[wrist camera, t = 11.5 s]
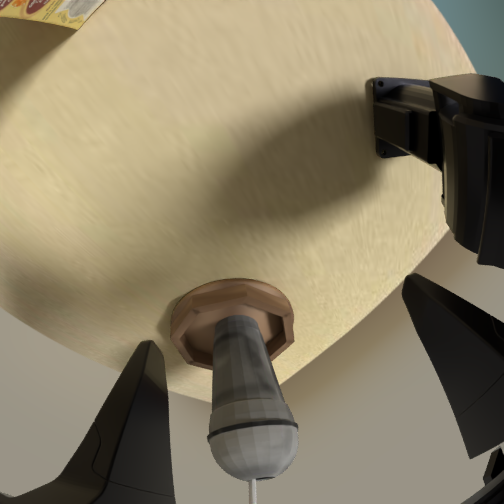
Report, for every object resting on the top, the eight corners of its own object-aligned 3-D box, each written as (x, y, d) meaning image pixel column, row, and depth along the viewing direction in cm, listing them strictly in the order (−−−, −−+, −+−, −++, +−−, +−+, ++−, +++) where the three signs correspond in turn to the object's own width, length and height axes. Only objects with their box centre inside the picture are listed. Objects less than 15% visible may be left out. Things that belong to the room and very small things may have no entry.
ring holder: (286, 264, 24) (292, 280, 23) (296, 344, 32) (300, 358, 30) (151, 295, 24) (148, 312, 23) (194, 365, 32) (195, 380, 30)
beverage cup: (271, 345, 30) (313, 517, 14) (206, 352, 29) (225, 530, 13) (272, 300, 26) (332, 519, 10) (194, 309, 25) (210, 538, 9)
